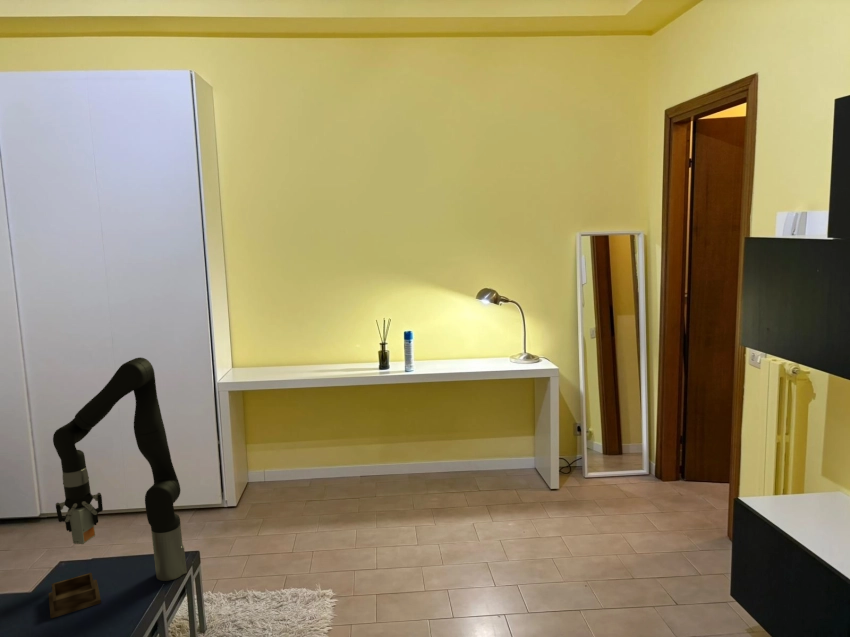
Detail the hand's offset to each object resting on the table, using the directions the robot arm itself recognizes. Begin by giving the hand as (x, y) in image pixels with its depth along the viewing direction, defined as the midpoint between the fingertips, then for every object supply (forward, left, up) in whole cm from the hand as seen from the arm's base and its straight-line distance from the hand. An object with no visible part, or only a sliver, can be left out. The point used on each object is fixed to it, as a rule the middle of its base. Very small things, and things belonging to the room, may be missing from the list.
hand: (82, 527), depth 218 cm
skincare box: (0, 0, -5) cm, 5 cm away
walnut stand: (+5, +14, -18) cm, 23 cm away
